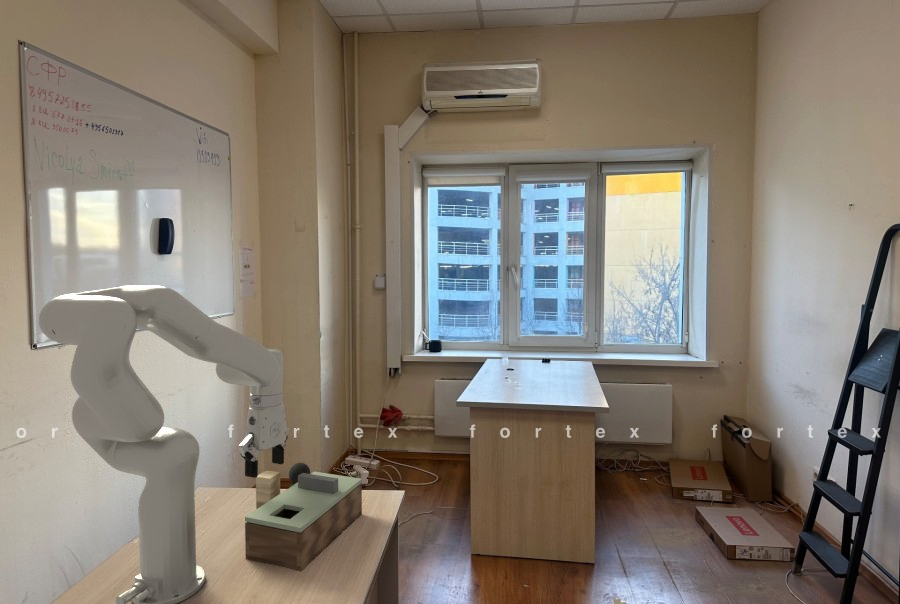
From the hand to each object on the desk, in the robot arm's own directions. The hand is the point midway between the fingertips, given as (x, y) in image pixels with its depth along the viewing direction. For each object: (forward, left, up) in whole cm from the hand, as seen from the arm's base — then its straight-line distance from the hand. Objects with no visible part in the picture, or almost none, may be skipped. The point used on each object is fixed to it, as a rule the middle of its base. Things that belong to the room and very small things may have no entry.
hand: (265, 469), depth 122 cm
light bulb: (+14, 0, -14) cm, 20 cm away
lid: (-1, -13, -5) cm, 14 cm away
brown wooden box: (-1, -13, -14) cm, 19 cm away
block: (+1, 0, -14) cm, 13 cm away
